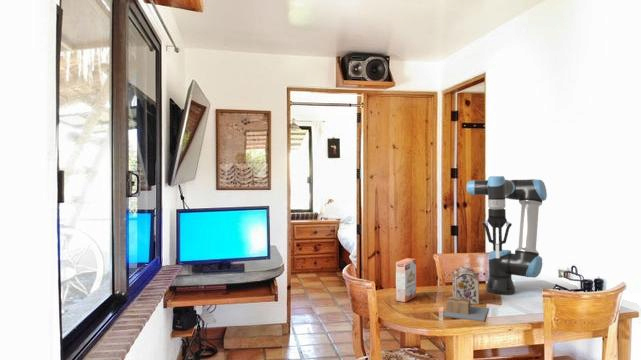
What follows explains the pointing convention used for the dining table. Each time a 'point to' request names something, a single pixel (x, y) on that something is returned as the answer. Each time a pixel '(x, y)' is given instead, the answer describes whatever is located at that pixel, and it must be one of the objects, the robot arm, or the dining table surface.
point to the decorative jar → (466, 284)
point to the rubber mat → (470, 314)
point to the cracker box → (405, 279)
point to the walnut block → (458, 305)
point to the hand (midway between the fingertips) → (497, 257)
